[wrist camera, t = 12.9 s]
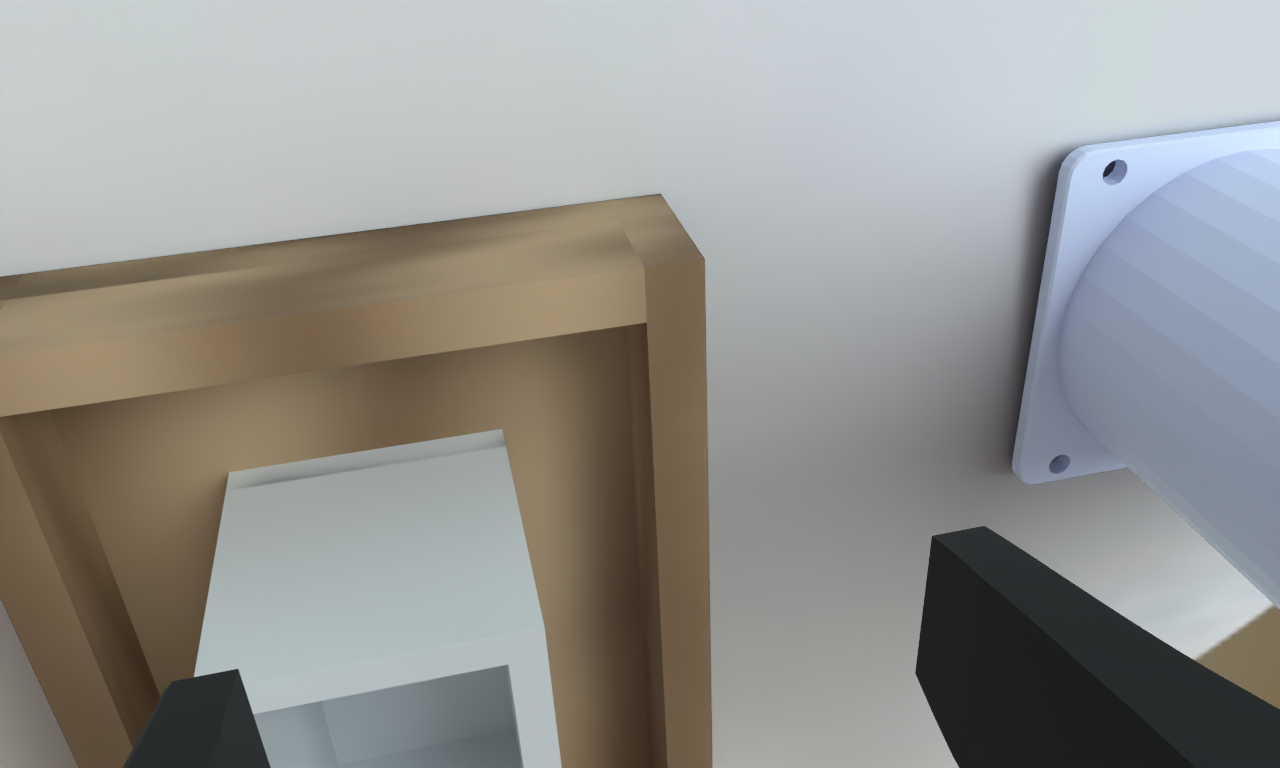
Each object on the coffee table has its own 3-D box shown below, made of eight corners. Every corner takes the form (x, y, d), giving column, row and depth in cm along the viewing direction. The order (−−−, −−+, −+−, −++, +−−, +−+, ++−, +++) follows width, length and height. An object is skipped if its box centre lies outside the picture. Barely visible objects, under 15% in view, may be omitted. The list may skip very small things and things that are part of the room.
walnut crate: (660, 193, 20) (705, 259, 18) (682, 774, 28) (713, 875, 26) (-42, 282, 18) (-107, 370, 16) (202, 878, 26) (186, 999, 24)
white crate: (502, 428, 21) (544, 626, 16) (540, 721, 25) (583, 945, 20) (229, 472, 20) (190, 695, 15) (315, 767, 24) (307, 1012, 19)
